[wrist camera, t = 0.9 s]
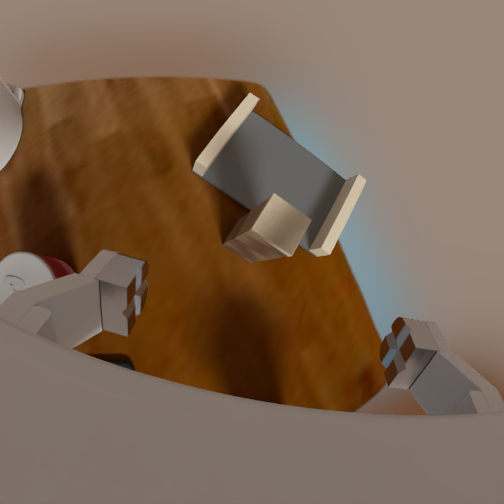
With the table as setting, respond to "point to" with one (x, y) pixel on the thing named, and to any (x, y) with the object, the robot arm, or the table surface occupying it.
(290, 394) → the table surface
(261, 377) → the table surface
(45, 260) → the canned food
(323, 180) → the rubber mat with end rails
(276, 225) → the walnut block
